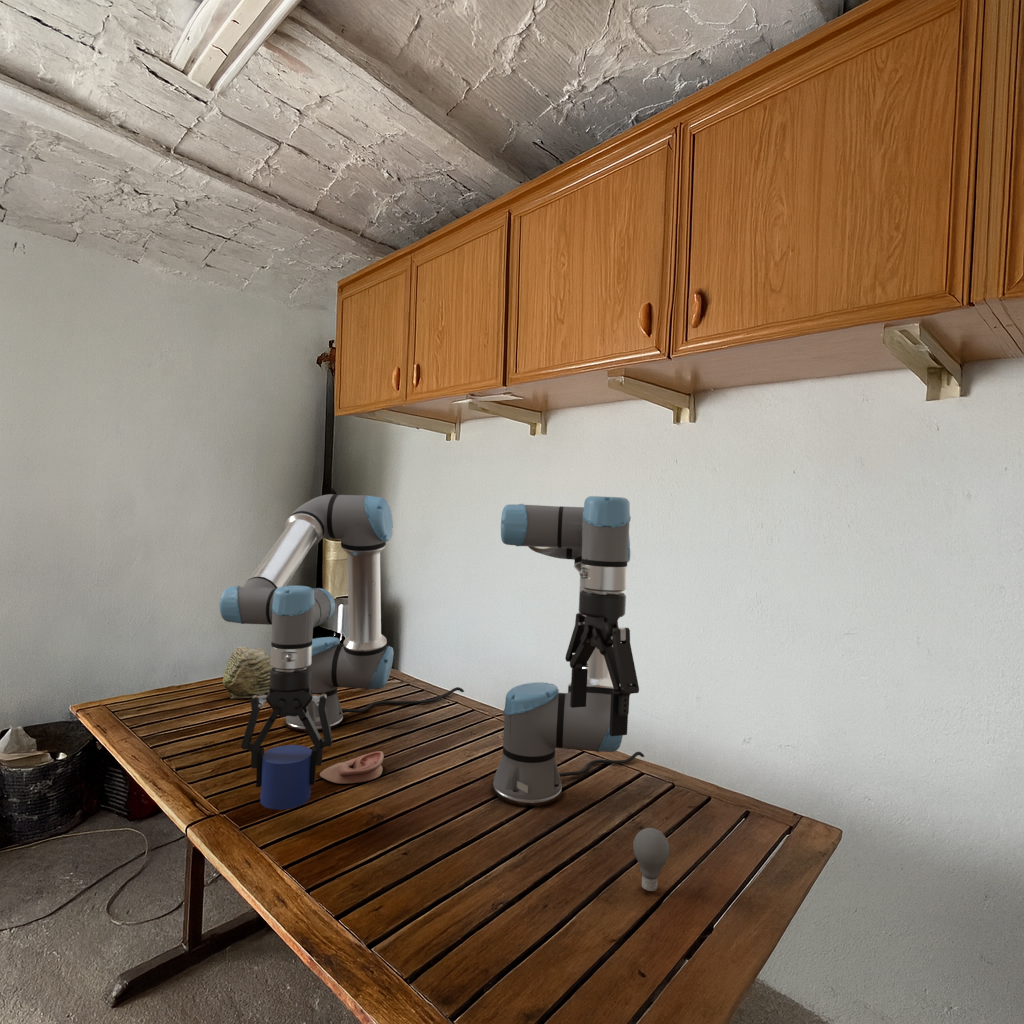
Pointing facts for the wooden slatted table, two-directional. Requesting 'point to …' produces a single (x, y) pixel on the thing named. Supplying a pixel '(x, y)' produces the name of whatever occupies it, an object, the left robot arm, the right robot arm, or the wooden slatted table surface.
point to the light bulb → (650, 855)
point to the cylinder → (286, 777)
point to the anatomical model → (355, 769)
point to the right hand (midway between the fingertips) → (596, 720)
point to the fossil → (247, 673)
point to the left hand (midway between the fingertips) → (286, 782)
